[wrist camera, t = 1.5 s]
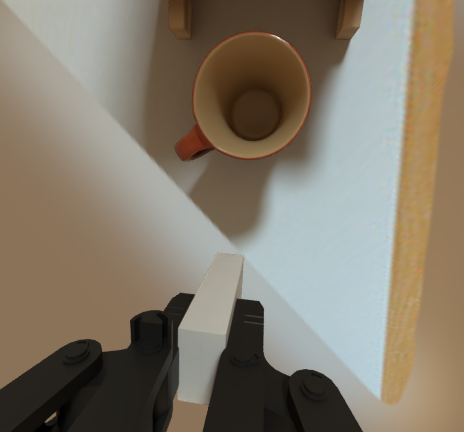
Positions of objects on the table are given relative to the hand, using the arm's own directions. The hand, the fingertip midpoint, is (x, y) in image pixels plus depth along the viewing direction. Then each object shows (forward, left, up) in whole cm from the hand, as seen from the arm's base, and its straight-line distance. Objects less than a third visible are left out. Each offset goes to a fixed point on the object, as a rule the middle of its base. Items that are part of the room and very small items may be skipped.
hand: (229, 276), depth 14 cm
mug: (-10, -1, -18) cm, 20 cm away
